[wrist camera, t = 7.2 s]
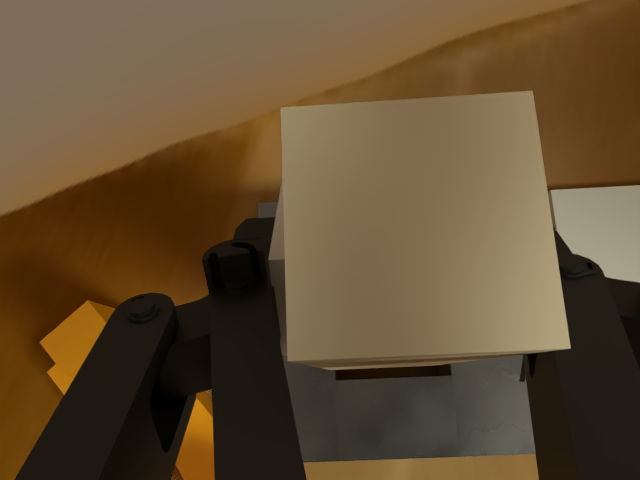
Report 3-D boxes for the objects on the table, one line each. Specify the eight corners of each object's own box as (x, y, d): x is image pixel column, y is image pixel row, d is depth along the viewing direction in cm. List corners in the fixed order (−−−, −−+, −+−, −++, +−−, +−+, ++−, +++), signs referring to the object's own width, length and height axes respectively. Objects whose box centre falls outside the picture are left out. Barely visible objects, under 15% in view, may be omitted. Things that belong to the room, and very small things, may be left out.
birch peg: (424, 264, 22) (533, 90, 9) (433, 365, 21) (570, 348, 8) (325, 268, 22) (280, 107, 9) (329, 369, 22) (287, 361, 8)
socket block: (487, 210, 30) (505, 188, 27) (515, 443, 27) (539, 453, 24) (267, 222, 30) (257, 202, 27) (272, 453, 28) (261, 463, 24)
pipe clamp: (78, 372, 29) (5, 371, 23) (142, 316, 30) (87, 300, 24) (224, 559, 27) (187, 615, 20) (290, 494, 27) (274, 529, 21)
